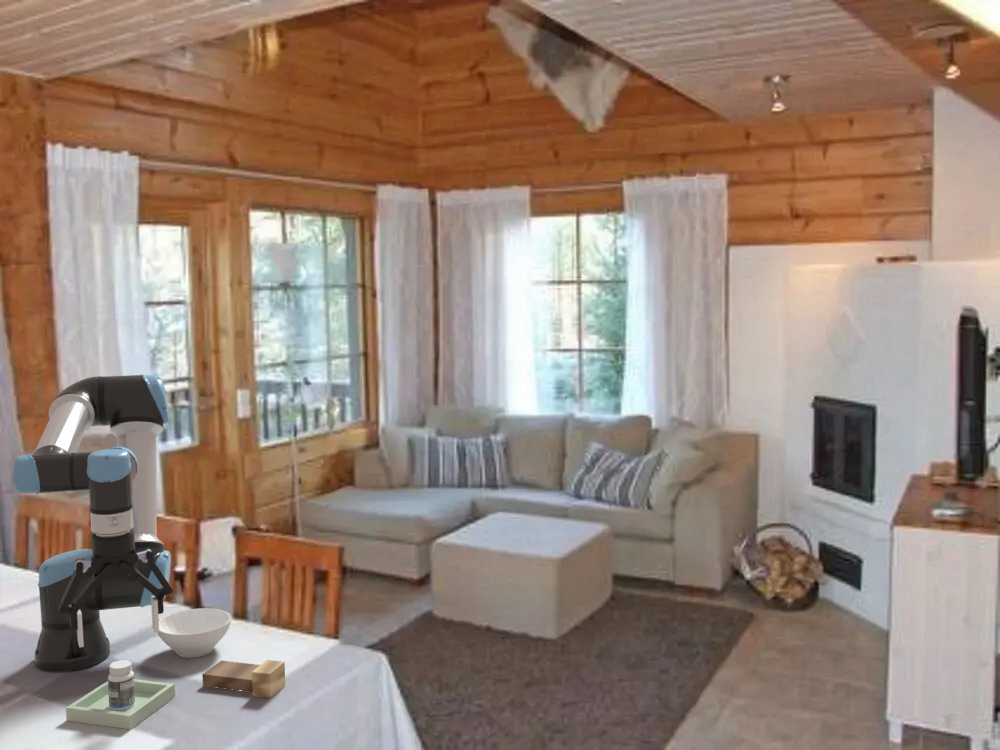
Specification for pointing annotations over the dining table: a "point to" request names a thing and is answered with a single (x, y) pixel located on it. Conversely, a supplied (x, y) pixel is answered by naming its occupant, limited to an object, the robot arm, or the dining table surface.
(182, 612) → the bowl
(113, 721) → the tray
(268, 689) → the wooden block
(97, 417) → the robot arm
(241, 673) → the brown cardboard box
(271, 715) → the dining table surface
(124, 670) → the pill bottle
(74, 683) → the dining table surface
